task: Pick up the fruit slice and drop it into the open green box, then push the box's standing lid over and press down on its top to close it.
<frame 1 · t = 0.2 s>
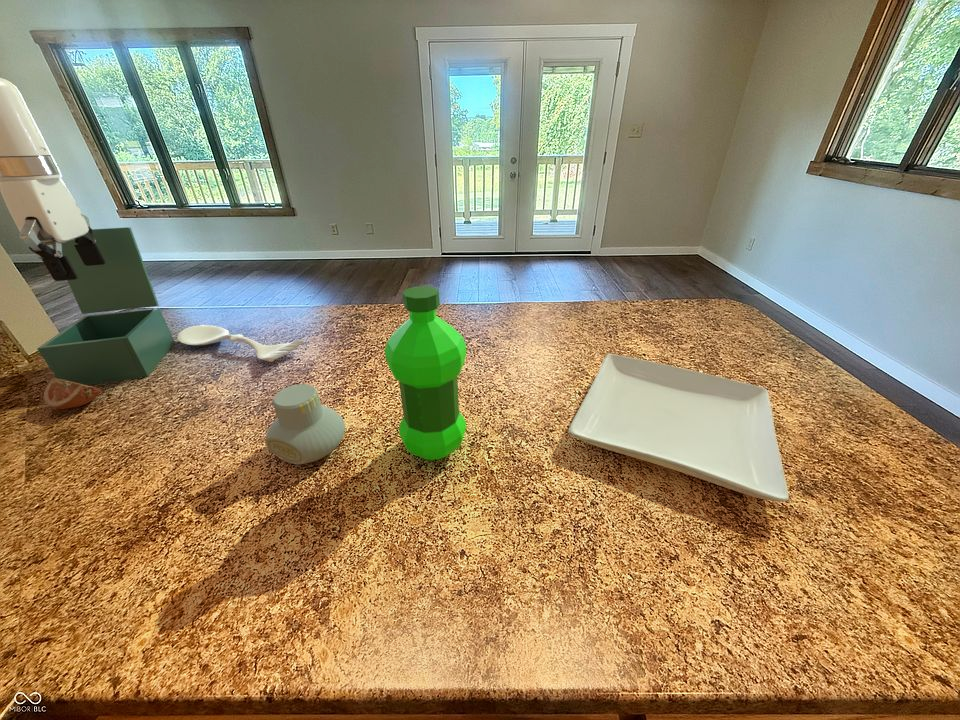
hand: (82, 271, 71), 20 cm above the countertop, tool pointing down, fingers open, 9 cm apart
lid: (106, 271, 79), point 17 cm above the countertop, hinge at 100.0°
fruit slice: (81, 405, 68), on the countertop
open green box: (125, 363, 81), on the countertop
spoon: (238, 349, 86), on the countertop
air freshener: (311, 448, 58), on the countertop
plastic bottle: (434, 448, 58), on the countertop
square plate: (669, 425, 63), on the countertop
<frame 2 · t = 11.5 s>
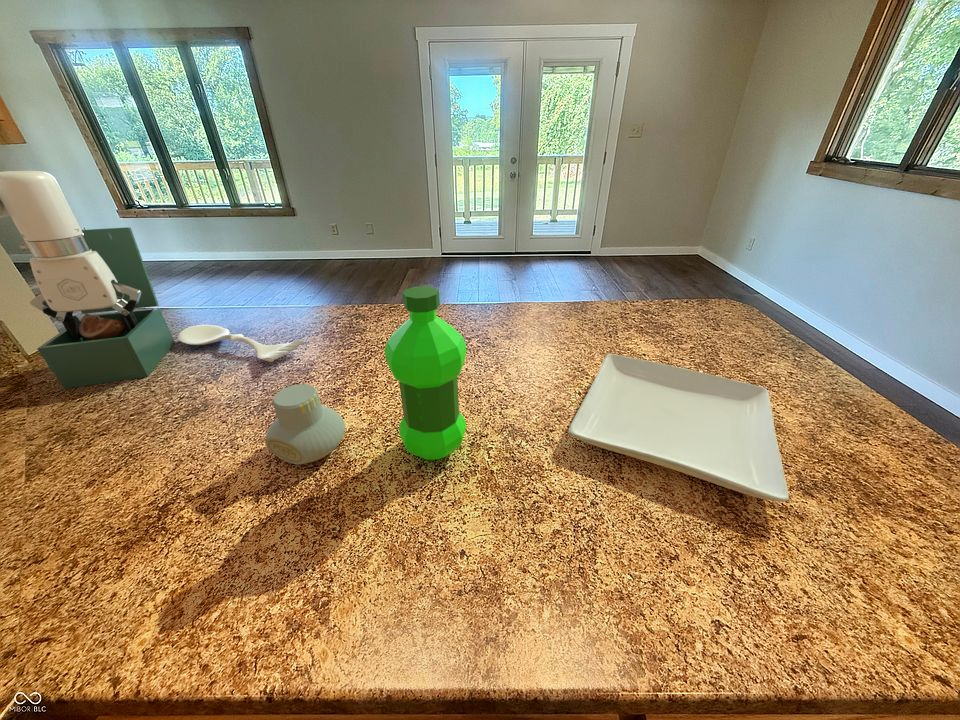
hand: (107, 333, 77), 7 cm above the countertop, tool pointing down, fingers closed on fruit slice, 8 cm apart
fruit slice: (110, 339, 78), point 6 cm above the countertop, touching gripper
everything else where it was.
when the fingers open (10 cm above the countertop, at t = 36.4 s): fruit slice drops 8 cm, resting on open green box.
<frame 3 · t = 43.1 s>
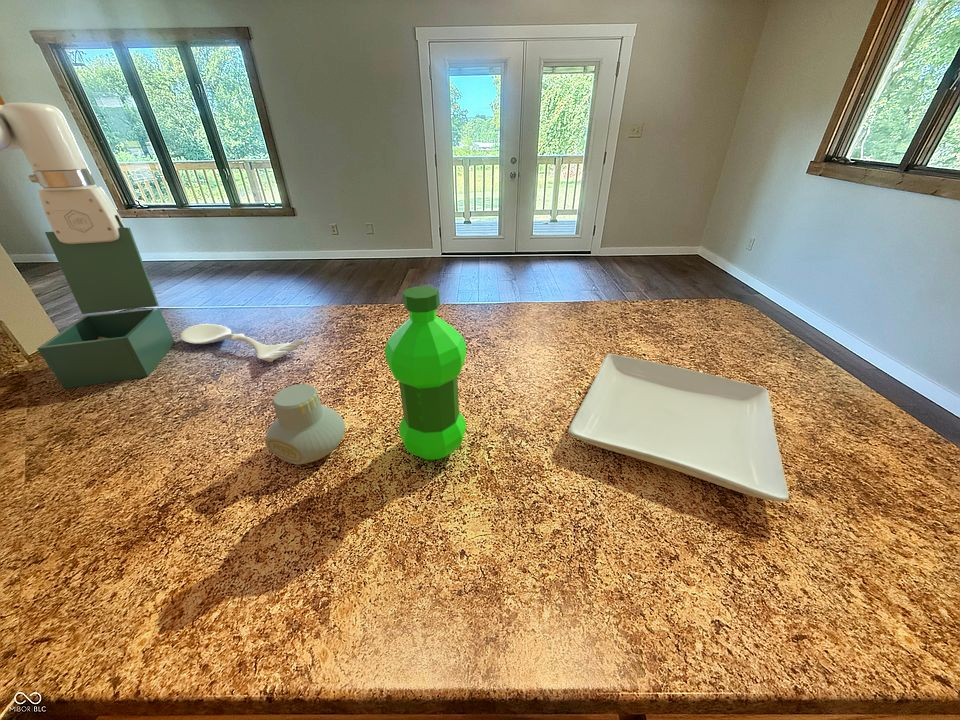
hand: (114, 273, 82), 16 cm above the countertop, tool pointing down, fingers closed
lid: (105, 271, 79), point 17 cm above the countertop, hinge at 98.6°, touching gripper
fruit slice: (123, 361, 80), point 1 cm above the countertop, touching open green box
everything else where it was.
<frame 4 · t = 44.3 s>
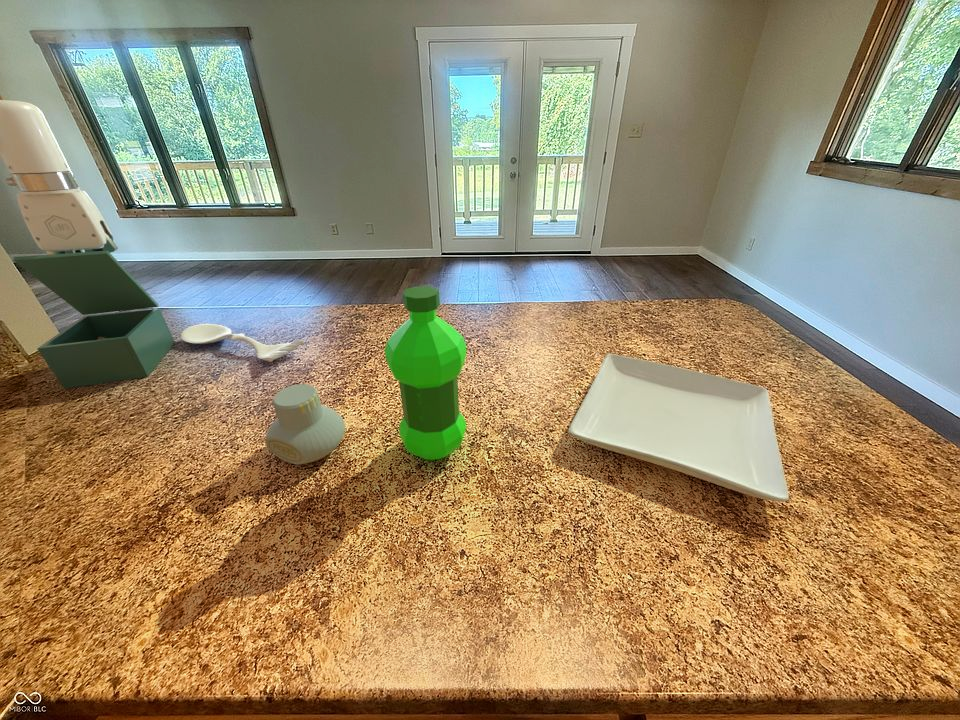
hand: (99, 282, 77), 16 cm above the countertop, tool pointing down, fingers closed
lid: (94, 284, 75), point 16 cm above the countertop, hinge at 57.8°, touching gripper
everything else where it was.
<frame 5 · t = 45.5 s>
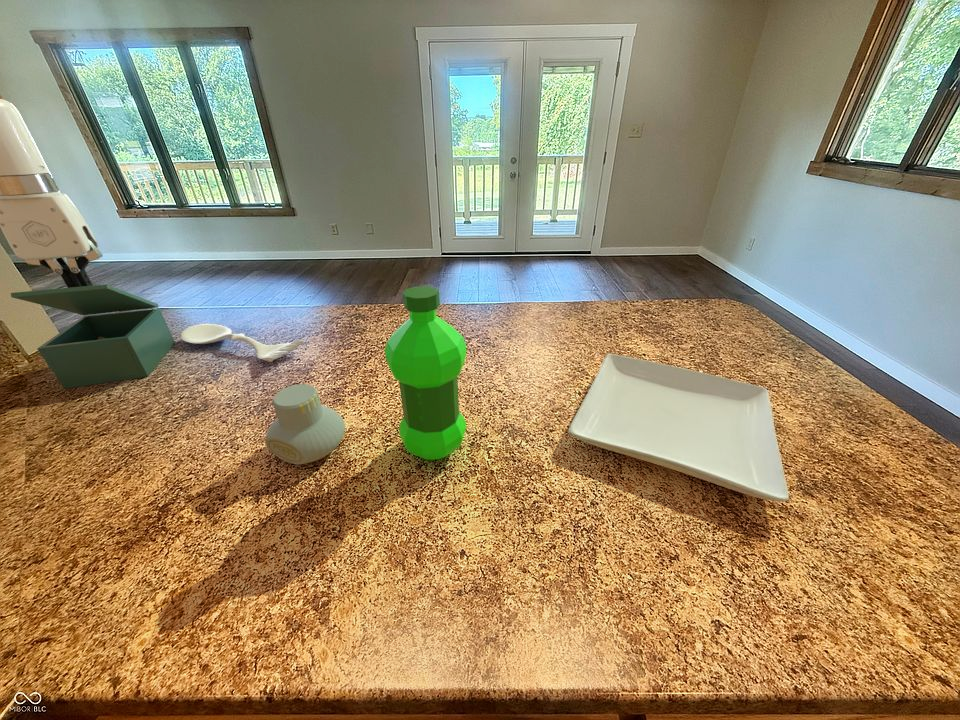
hand: (83, 292, 72), 16 cm above the countertop, tool pointing down, fingers closed
lid: (94, 301, 74), point 14 cm above the countertop, hinge at 33.1°
everything else where it was.
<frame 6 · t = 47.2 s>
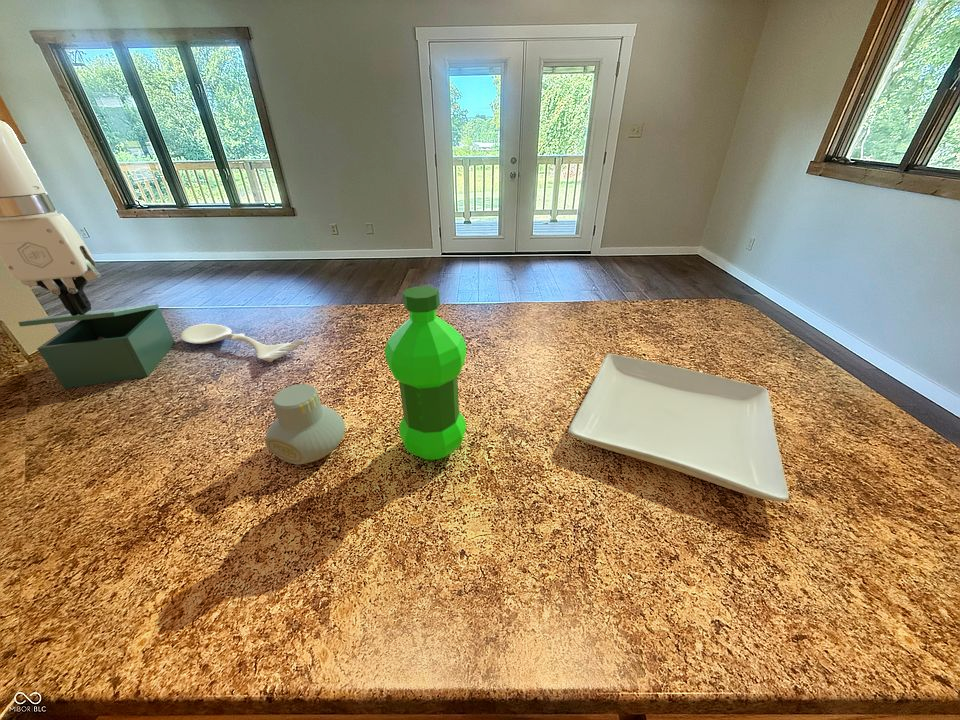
hand: (82, 312, 71), 13 cm above the countertop, tool pointing down, fingers closed
lid: (97, 313, 75), point 11 cm above the countertop, hinge at 15.6°
everything else where it was.
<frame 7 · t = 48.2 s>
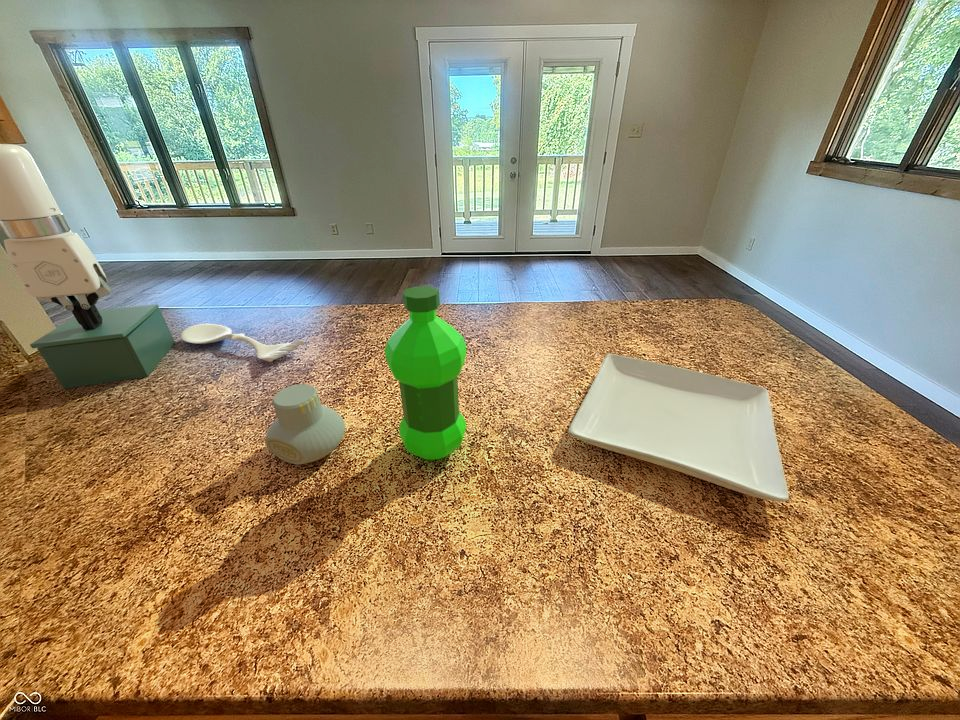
hand: (93, 326, 73), 10 cm above the countertop, tool pointing down, fingers closed
lid: (101, 323, 76), point 9 cm above the countertop, hinge at 1.4°, touching gripper
everything else where it was.
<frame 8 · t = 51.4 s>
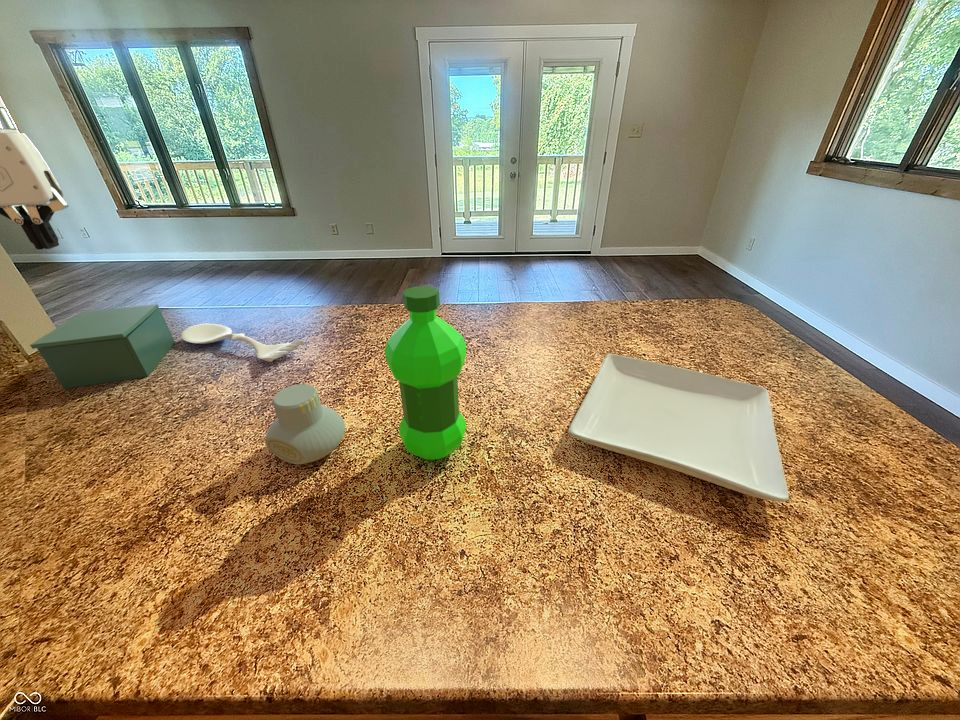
hand: (48, 247, 66), 25 cm above the countertop, tool pointing down, fingers closed
lid: (101, 324, 76), point 9 cm above the countertop, hinge at 1.2°
everything else where it was.
at the end: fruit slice inside the target area in the open green box (0.2 cm from its centre), point 0.6 cm above the open green box's base; lid at +1° (first picture: +100°) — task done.
